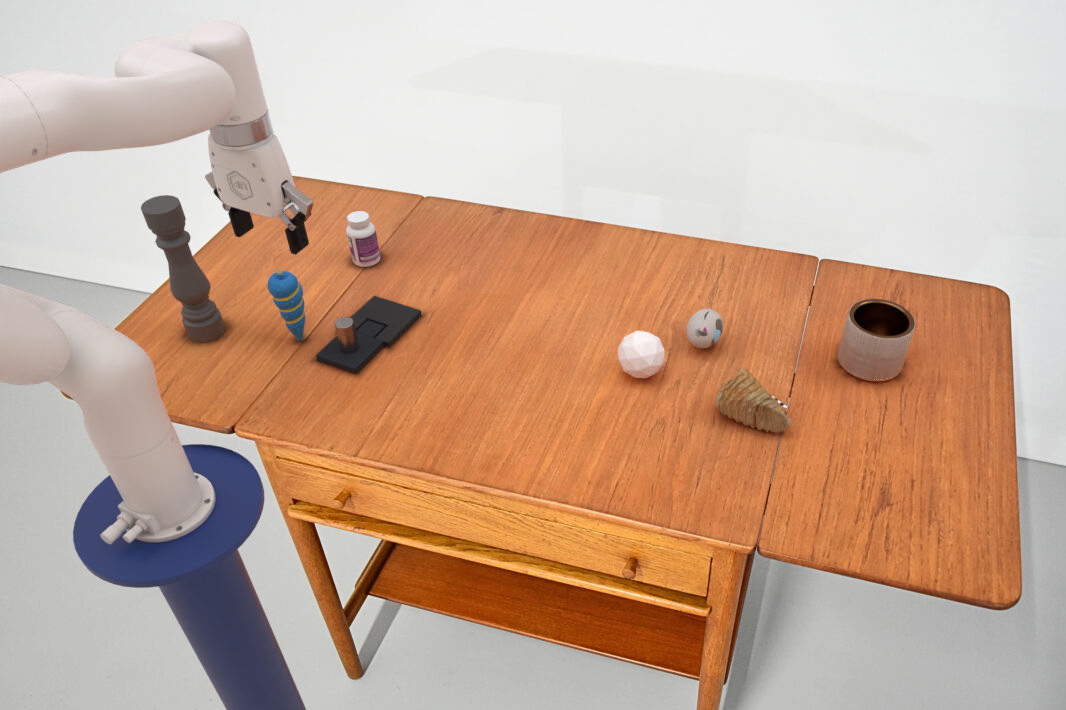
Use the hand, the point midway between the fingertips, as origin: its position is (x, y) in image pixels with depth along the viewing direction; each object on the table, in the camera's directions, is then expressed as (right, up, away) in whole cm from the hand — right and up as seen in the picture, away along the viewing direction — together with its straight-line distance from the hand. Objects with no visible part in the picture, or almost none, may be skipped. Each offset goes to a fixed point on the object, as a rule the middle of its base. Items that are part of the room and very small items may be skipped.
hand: (272, 240), depth 126 cm
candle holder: (-22, -11, +30) cm, 39 cm away
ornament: (-6, -12, +28) cm, 32 cm away
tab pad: (+5, -13, +27) cm, 31 cm away
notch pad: (+7, -10, +31) cm, 34 cm away
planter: (+92, -16, +26) cm, 97 cm away
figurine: (+64, -13, +29) cm, 71 cm away
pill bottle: (+1, +4, +46) cm, 47 cm away
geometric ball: (+53, -18, +24) cm, 60 cm away
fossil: (+70, -24, +17) cm, 76 cm away
